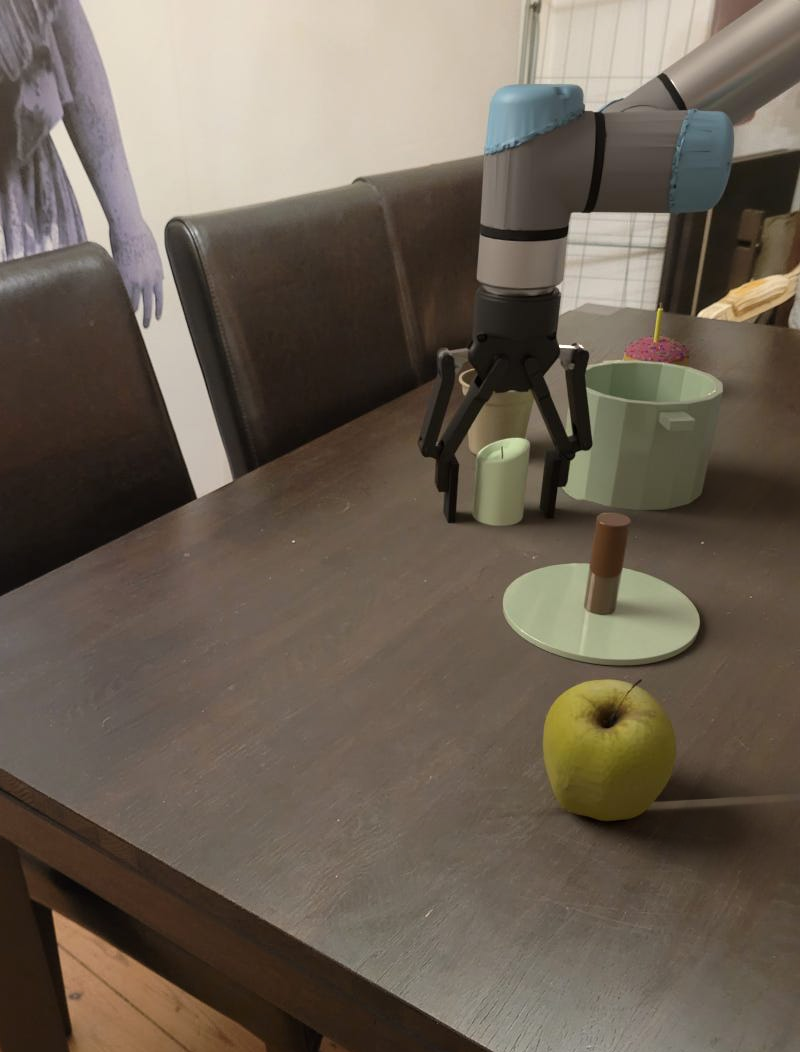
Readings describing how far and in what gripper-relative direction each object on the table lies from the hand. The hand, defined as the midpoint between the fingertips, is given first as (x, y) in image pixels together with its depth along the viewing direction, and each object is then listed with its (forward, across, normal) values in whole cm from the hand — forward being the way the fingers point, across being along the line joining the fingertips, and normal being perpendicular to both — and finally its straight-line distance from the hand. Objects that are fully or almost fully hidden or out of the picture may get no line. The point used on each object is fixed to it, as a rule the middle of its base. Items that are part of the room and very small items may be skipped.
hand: (497, 517), depth 96 cm
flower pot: (+1, -4, -19) cm, 19 cm away
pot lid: (0, -4, +20) cm, 20 cm away
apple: (0, +3, +42) cm, 42 cm away
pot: (0, -16, -7) cm, 17 cm away
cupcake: (+1, -30, -39) cm, 49 cm away
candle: (0, 0, 0) cm, 0 cm away
